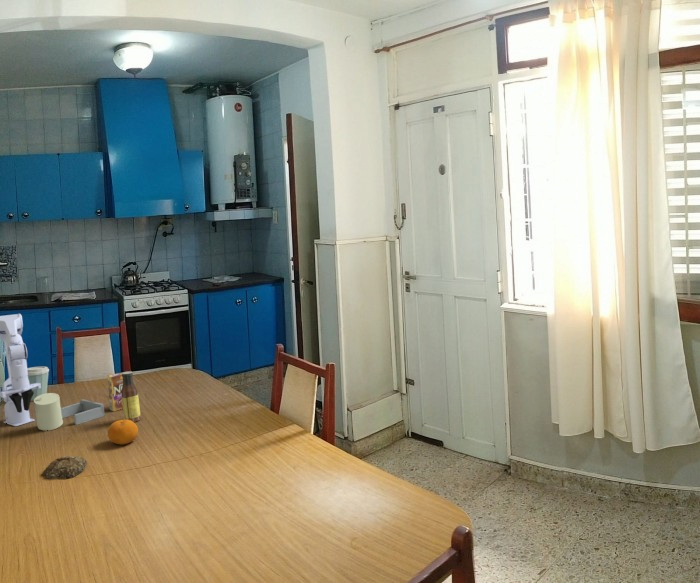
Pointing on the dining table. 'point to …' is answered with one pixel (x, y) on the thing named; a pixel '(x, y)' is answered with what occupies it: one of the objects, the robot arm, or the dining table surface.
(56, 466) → the rough brown rock
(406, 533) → the dining table surface
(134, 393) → the sauce bottle
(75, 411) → the box
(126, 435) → the fruit
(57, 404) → the can
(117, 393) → the candy box
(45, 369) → the disposable coffee cup
